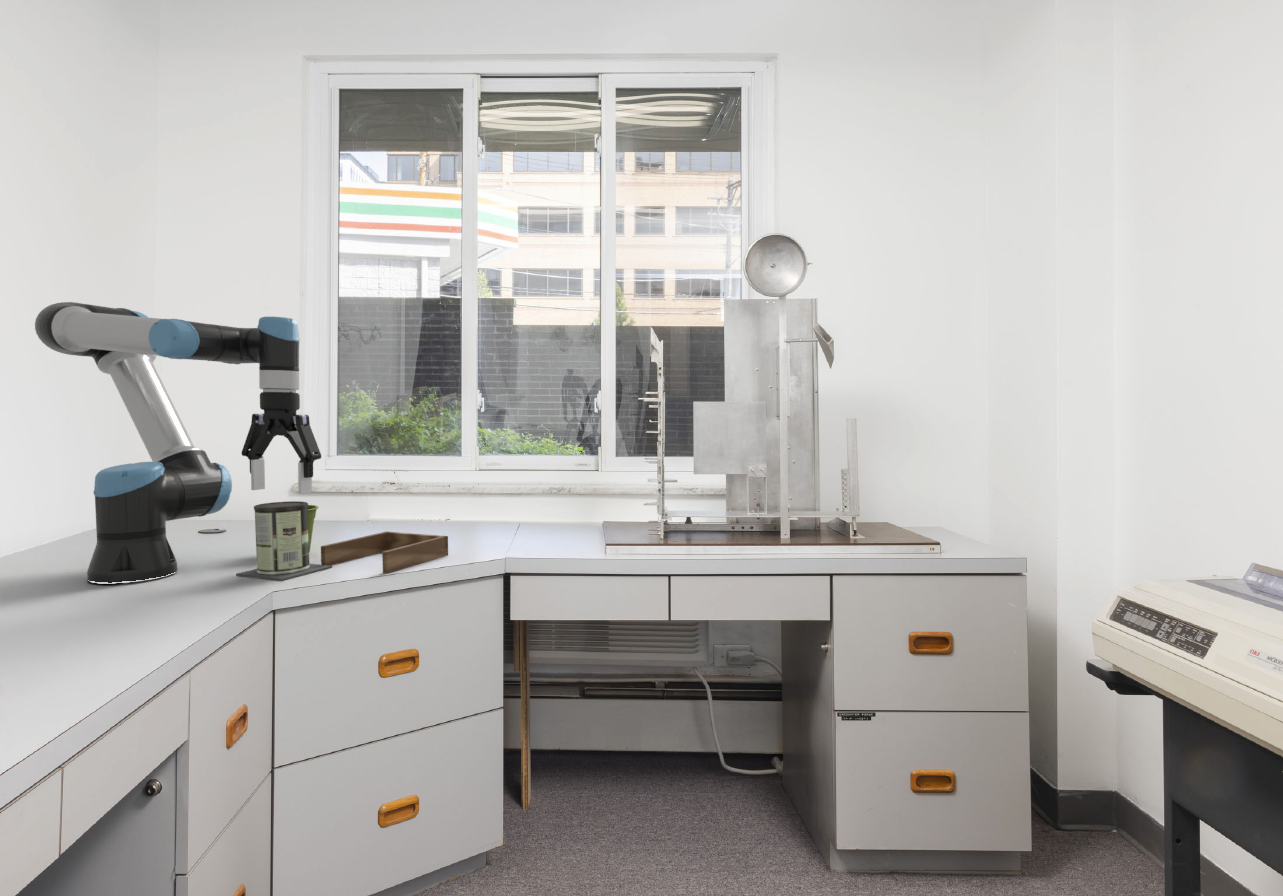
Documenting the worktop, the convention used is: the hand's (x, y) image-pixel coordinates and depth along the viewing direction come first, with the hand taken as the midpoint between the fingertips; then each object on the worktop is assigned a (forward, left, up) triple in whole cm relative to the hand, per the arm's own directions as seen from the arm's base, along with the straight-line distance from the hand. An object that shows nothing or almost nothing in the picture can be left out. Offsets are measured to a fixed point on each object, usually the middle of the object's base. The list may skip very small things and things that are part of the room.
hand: (281, 491), depth 150 cm
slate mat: (0, 0, -17) cm, 17 cm away
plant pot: (-13, +14, -17) cm, 26 cm away
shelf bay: (+13, +17, -17) cm, 27 cm away
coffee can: (0, 0, -17) cm, 17 cm away
